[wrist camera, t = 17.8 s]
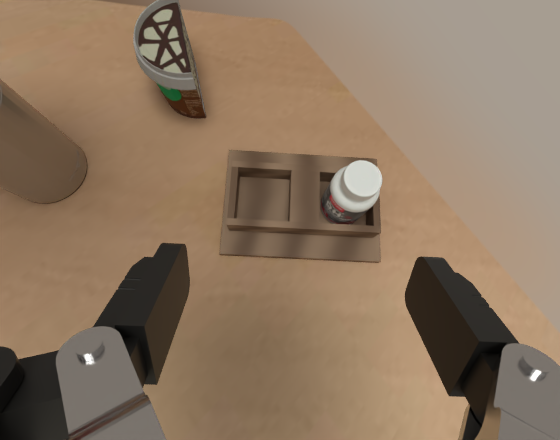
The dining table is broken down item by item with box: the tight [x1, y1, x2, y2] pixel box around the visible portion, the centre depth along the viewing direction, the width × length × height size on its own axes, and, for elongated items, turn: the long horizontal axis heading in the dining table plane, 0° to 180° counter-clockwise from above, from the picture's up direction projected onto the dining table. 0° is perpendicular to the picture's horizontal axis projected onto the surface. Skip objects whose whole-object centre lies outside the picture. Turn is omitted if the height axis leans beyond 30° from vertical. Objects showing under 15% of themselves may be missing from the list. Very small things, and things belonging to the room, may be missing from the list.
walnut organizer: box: [220, 150, 381, 263], centre depth 40 cm, size 20×14×4 cm
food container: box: [133, 0, 206, 118], centre depth 41 cm, size 12×6×10 cm, turn 13°
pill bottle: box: [321, 160, 382, 225], centre depth 36 cm, size 5×5×10 cm
